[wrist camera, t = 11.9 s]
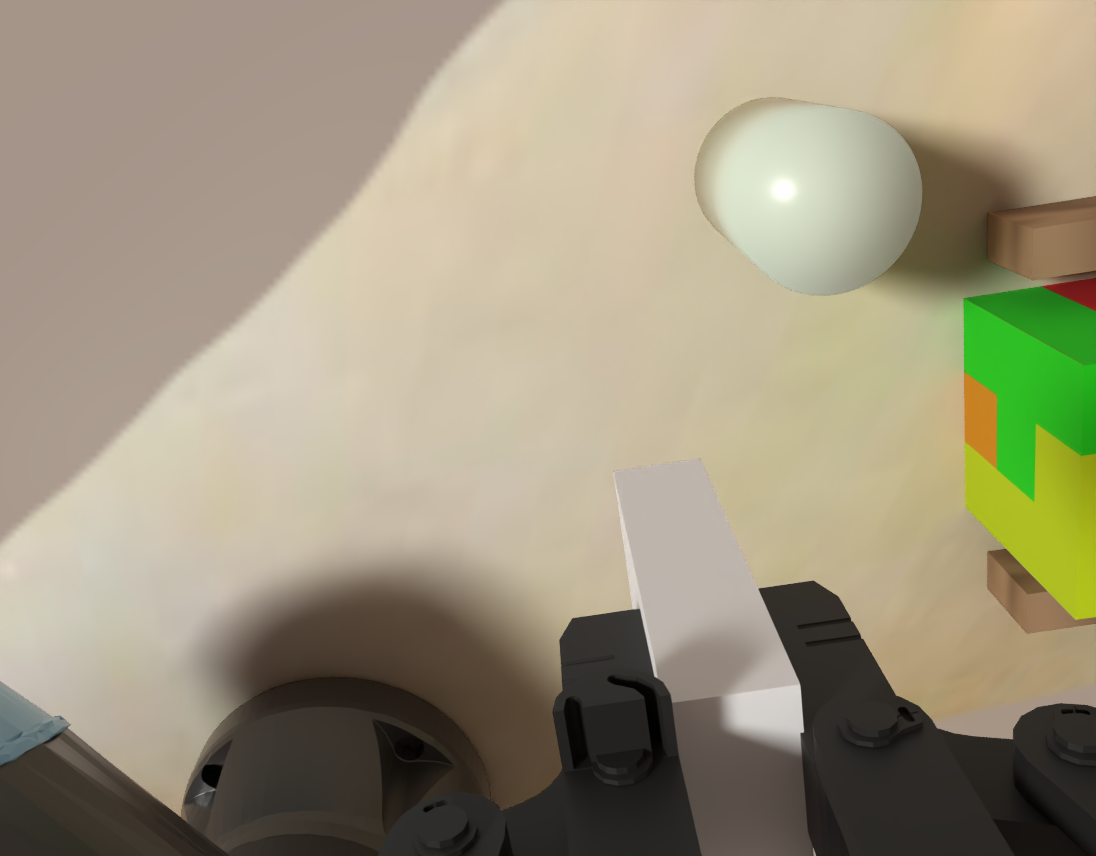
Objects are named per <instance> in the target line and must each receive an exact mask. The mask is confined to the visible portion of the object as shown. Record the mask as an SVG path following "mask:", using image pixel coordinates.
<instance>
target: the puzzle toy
mask: <svg viewBox="0 0 1096 856" xmlns="http://www.w3.org/2000/svg"><path fill="white" fill-rule="evenodd" d="M964 398H965V507H966V508H967V509H968V510H969V511H970V512H971V513H972V514H973V515H974V516H975V518H976V519H977V520H978V521H979V522H980V523H981V524H982V525H983V526H984V527H985V528H986V529H987V530H988V531H989V532H990V533H991V534H992V535H993V536H994V537H995V538H996V539H997V540H998V541H999V542H1000V543H1001V544H1002V545H1003V546H1004V547H1005V548H1006V549H1007V550H1008V551H1009V552H1010V553H1011V554H1012V555H1013V556H1014V557H1015V558H1016V560H1017V561H1018V562H1019V563H1020V564H1021V565H1022V566H1023V567H1024V568H1025V569H1026V570H1027V571H1028V572H1029V573H1030V574H1031V575H1032V576H1033V577H1034V578H1035V579H1036V580H1037V581H1038V582H1039V583H1040V584H1041V585H1042V586H1043V587H1044V588H1045V589H1046V590H1047V591H1048V592H1049V593H1050V594H1051V595H1052V596H1053V597H1054V598H1055V599H1056V600H1057V601H1058V603H1059V604H1060V605H1061V606H1062V607H1063V608H1064V609H1065V610H1066V611H1067V612H1068V613H1069V614H1070V615H1071V616H1072V617H1073V618H1074V619H1075V620H1078V619H1085V618H1092V617H1096V278H1092V279H1086V280H1079V281H1073V282H1066V283H1060V284H1053V285H1047V286H1040V287H1034V288H1028V289H1021V290H1015V291H1008V292H1002V293H995V294H989V295H982V296H976V297H969V298H964Z"/></svg>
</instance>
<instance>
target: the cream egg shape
mask: <svg viewBox="0 0 1096 856" xmlns="http://www.w3.org/2000/svg"><path fill="white" fill-rule="evenodd" d="M694 177H695V190H696V196H697V199H698V202H699V205H700V207H701V210H702V212H703V214H704V215H705V217H706V218H707V220H708V221H709V222H710V224H711V225H712V226H713V227H714V228H715V229H716V230H717V231H718V232H719V233H720V234H721V235H723V236H724V237H725V238H726V239H727V240H728V241H729V242H730V243H731V244H733V245H734V246H735V247H736V248H737V249H738V250H739V251H740V252H741V253H742V254H744V255H745V256H746V257H747V258H748V259H749V260H750V261H751V262H752V263H754V264H755V265H756V266H757V267H758V268H759V269H760V270H761V271H762V272H763V273H765V274H766V275H767V276H768V277H769V278H770V279H772V280H773V281H775V282H776V283H778V284H779V285H781V286H783V287H785V288H787V289H789V290H792V291H795V292H798V293H802V294H807V295H817V296H827V295H836V294H841V293H846V292H849V291H852V290H855V289H857V288H860V287H862V286H864V285H866V284H868V283H870V282H871V281H873V280H874V279H876V278H877V277H879V276H880V275H881V274H883V273H884V272H885V271H886V270H887V269H889V268H890V267H891V266H892V265H893V264H894V262H895V261H896V260H897V259H898V258H899V257H900V255H901V254H902V253H903V251H904V250H905V249H906V247H907V245H908V244H909V242H910V240H911V238H912V236H913V234H914V232H915V229H916V227H917V224H918V220H919V217H920V212H921V206H922V193H923V190H922V179H921V174H920V170H919V166H918V163H917V161H916V158H915V156H914V154H913V152H912V150H911V148H910V147H909V145H908V144H907V142H906V141H905V140H904V138H903V137H902V136H901V135H900V134H899V133H898V132H897V131H896V130H895V129H894V128H893V127H891V126H890V125H889V124H887V123H886V122H884V121H883V120H881V119H879V118H877V117H875V116H873V115H870V114H867V113H864V112H861V111H855V110H850V109H844V108H838V107H832V106H827V105H821V104H815V103H809V102H803V101H797V100H792V99H786V98H776V97H769V98H760V99H756V100H752V101H749V102H747V103H744V104H742V105H740V106H738V107H736V108H734V109H733V110H731V111H730V112H728V113H727V114H726V115H724V116H723V117H722V118H721V119H720V120H719V121H718V122H717V123H716V124H715V125H714V127H713V128H712V129H711V130H710V132H709V133H708V135H707V136H706V138H705V140H704V142H703V144H702V146H701V148H700V151H699V154H698V157H697V161H696V166H695V176H694Z"/></svg>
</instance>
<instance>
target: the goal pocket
mask: <svg viewBox="0 0 1096 856" xmlns="http://www.w3.org/2000/svg"><path fill="white" fill-rule="evenodd" d="M988 261H990V262H993V263H995V264H997V265H999V266H1002V267H1004V268H1006V269H1008V270H1011V271H1013V272H1015V273H1017V274H1020V275H1022V276H1024V277H1026V278H1029V279H1031V280H1037V279H1044V278H1050V277H1057V276H1063V275H1070V274H1076V273H1083V272H1089V271H1096V196H1094V197H1088V198H1082V199H1075V200H1069V201H1062V202H1056V203H1050V204H1043V205H1037V206H1030V207H1024V208H1018V209H1011V210H1005V211H998V212H992V213H988ZM988 590H989V591H990V592H991V593H992V594H993V595H994V597H995V598H996V599H997V600H998V601H999V602H1000V603H1001V605H1002V606H1003V607H1004V608H1005V609H1006V610H1007V611H1008V613H1009V614H1010V615H1011V616H1012V617H1013V618H1014V619H1015V621H1016V622H1017V623H1018V624H1019V625H1020V626H1021V628H1022V629H1023V630H1024V631H1025V632H1026V633H1027V634H1028V633H1035V632H1042V631H1049V630H1056V629H1062V628H1069V627H1076V626H1083V625H1090V624H1096V617H1092V618H1085V619H1078V620H1075V619H1074V618H1073V617H1072V616H1071V615H1070V614H1069V613H1068V612H1067V611H1066V610H1065V609H1064V608H1063V607H1062V606H1061V605H1060V604H1059V603H1058V601H1057V600H1056V599H1055V598H1054V597H1053V596H1052V595H1051V594H1050V593H1049V592H1048V591H1047V590H1046V589H1045V588H1044V587H1043V586H1042V585H1041V584H1040V583H1039V582H1038V581H1037V580H1036V579H1035V578H1034V577H1033V576H1032V575H1031V574H1030V573H1029V572H1028V571H1027V570H1026V569H1025V568H1024V567H1023V566H1022V565H1021V564H1020V563H1019V562H1018V561H1017V560H1016V558H1015V557H1014V556H1013V555H1012V554H1011V553H1010V552H1009V551H1008V550H1007V549H1003V550H996V551H989V552H988Z"/></svg>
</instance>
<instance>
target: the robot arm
mask: <svg viewBox="0 0 1096 856" xmlns="http://www.w3.org/2000/svg"><path fill="white" fill-rule="evenodd" d="M613 473H614V480H615V487H616V494H617V501H618V508H619V515H620V522H621V529H622V536H623V544H624V551H625V558H626V565H627V572H628V579H629V586H630V593H631V600H632V607H633V610H627V611H620V612H613V613H606V614H599V615H592V616H586V617H579V618H572V620H571V622H570V623H569V625H568V627H567V628H566V630H565V632H564V633H563V635H562V637H561V638H560V655H561V666H562V667H561V671H562V683H563V685H562V686H563V691H562V692H561V693H560V694H559V695H558V696H557V697H556V700H555V704H554V708H553V717H554V723H555V728H556V734H557V739H558V745H559V750H560V756H561V761H562V767H563V768H562V770H561V773H560V774H559V776H558V777H557V778H556V779H555V780H554V781H553V783H552V784H551V785H550V786H549V787H547V788H546V789H545V790H543V791H542V792H541V793H539V794H538V795H537V796H535V797H533V798H531V799H529V800H527V801H525V802H523V803H521V804H518V805H516V806H513V807H511V808H508V809H506V810H503V811H501V810H500V808H499V806H498V805H497V804H495V803H494V802H492V801H491V797H490V788H489V782H488V778H487V775H486V772H485V769H484V766H483V764H482V762H481V759H480V757H479V755H478V754H477V752H476V750H475V748H474V747H473V745H472V744H471V742H470V741H469V740H468V738H467V737H466V736H465V735H464V733H463V732H462V731H461V730H460V729H459V728H458V727H457V726H456V725H455V724H454V723H453V722H452V721H451V720H450V719H449V718H448V717H446V716H445V715H444V714H443V713H441V712H440V711H439V710H437V709H436V708H434V707H433V706H431V705H430V704H428V703H426V702H425V701H423V700H421V699H419V698H417V697H415V696H413V695H411V694H409V693H406V692H404V691H402V690H399V689H396V688H393V687H390V686H387V685H383V684H380V683H375V682H371V681H365V680H358V679H348V678H320V679H311V680H304V681H299V682H294V683H290V684H286V685H283V686H280V687H277V688H274V689H272V690H269V691H267V692H264V693H262V694H260V695H258V696H256V697H254V698H253V699H251V700H249V701H247V702H246V703H244V704H243V705H241V706H240V707H239V708H237V709H236V710H235V711H233V712H232V713H231V714H230V715H229V716H228V717H227V718H226V719H225V720H223V721H222V723H221V724H220V725H219V726H218V727H217V728H216V729H215V731H214V732H213V734H212V735H211V736H210V738H209V739H208V741H207V743H206V744H205V746H204V748H203V750H202V752H201V755H200V757H199V759H198V761H197V763H196V766H195V768H194V770H193V772H192V774H191V777H190V779H189V782H188V784H187V787H186V791H185V795H184V799H183V804H182V810H181V817H180V816H178V815H177V814H176V813H174V812H173V811H172V810H171V809H169V808H168V807H167V806H165V805H164V804H163V803H162V802H160V801H159V800H158V799H156V798H155V797H154V796H153V795H151V794H150V793H149V792H147V791H146V790H145V789H144V788H142V787H141V786H140V785H138V784H137V783H136V782H135V781H133V780H132V779H131V778H129V777H128V776H127V775H126V774H124V773H123V772H122V771H120V770H119V769H118V768H117V767H115V766H114V765H113V764H111V763H110V762H109V761H108V760H106V759H105V758H104V757H103V756H101V755H100V754H99V753H98V752H96V751H95V750H94V749H93V748H92V747H90V746H89V745H88V744H87V743H85V742H84V741H83V740H82V739H81V738H79V737H78V736H77V735H76V734H74V733H73V732H72V731H71V730H70V729H68V728H67V727H68V726H70V725H71V724H69V723H68V722H67V721H66V720H65V719H64V718H63V717H61V716H55V717H52V716H51V715H49V714H48V713H46V712H45V711H43V710H42V709H40V708H39V707H37V706H36V705H35V704H33V703H32V702H30V701H29V700H27V699H26V698H24V697H23V696H21V695H20V694H18V693H17V692H15V691H14V690H13V689H11V688H10V687H8V686H7V685H5V684H4V683H2V682H1V681H0V856H813V848H814V851H815V853H816V856H1096V708H1095V707H1091V706H1088V705H1076V704H1062V703H1060V704H1054V705H1048V706H1042V707H1037V708H1035V709H1034V710H1032V711H1030V712H1028V713H1026V714H1025V715H1022V716H1021V717H1020V719H1019V721H1018V722H1017V724H1016V725H1015V727H1014V729H1013V739H1001V738H987V737H975V736H968V735H961V734H954V733H951V732H948V731H944V730H941V729H937V728H936V726H935V724H934V723H933V721H932V719H931V718H930V717H929V716H928V715H927V714H926V713H925V712H924V711H923V710H922V709H921V708H920V707H919V706H918V705H916V704H914V703H911V702H909V701H907V700H905V699H903V698H901V697H899V696H896V695H895V693H894V691H893V689H892V688H891V686H890V684H889V683H888V681H887V679H886V677H885V676H884V674H883V672H882V671H881V669H880V667H879V665H878V664H877V662H876V660H875V659H874V657H873V655H872V653H871V652H870V650H869V648H868V647H867V645H866V643H865V641H864V640H863V639H861V635H860V633H859V631H858V629H857V628H856V626H855V624H854V623H853V622H851V617H850V616H849V614H848V612H847V611H846V609H845V607H844V605H843V604H842V602H841V600H840V599H839V597H838V596H837V595H835V594H833V593H832V592H830V591H829V590H827V589H826V588H824V587H823V586H821V585H819V584H818V583H816V582H815V581H808V582H801V583H794V584H787V585H780V586H773V587H767V588H760V589H758V588H757V585H756V583H755V581H754V578H753V576H752V574H751V572H750V569H749V567H748V565H747V563H746V560H745V558H744V556H743V554H742V551H741V549H740V547H739V544H738V542H737V540H736V538H735V535H734V533H733V531H732V529H731V526H730V524H729V522H728V520H727V517H726V515H725V513H724V511H723V508H722V506H721V504H720V501H719V499H718V497H717V495H716V492H715V490H714V488H713V486H712V483H711V481H710V479H709V477H708V474H707V472H706V470H705V467H704V465H703V463H702V461H701V458H698V459H691V460H684V461H678V462H671V463H665V464H658V465H651V466H645V467H638V468H631V469H625V470H618V471H613Z"/></svg>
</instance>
